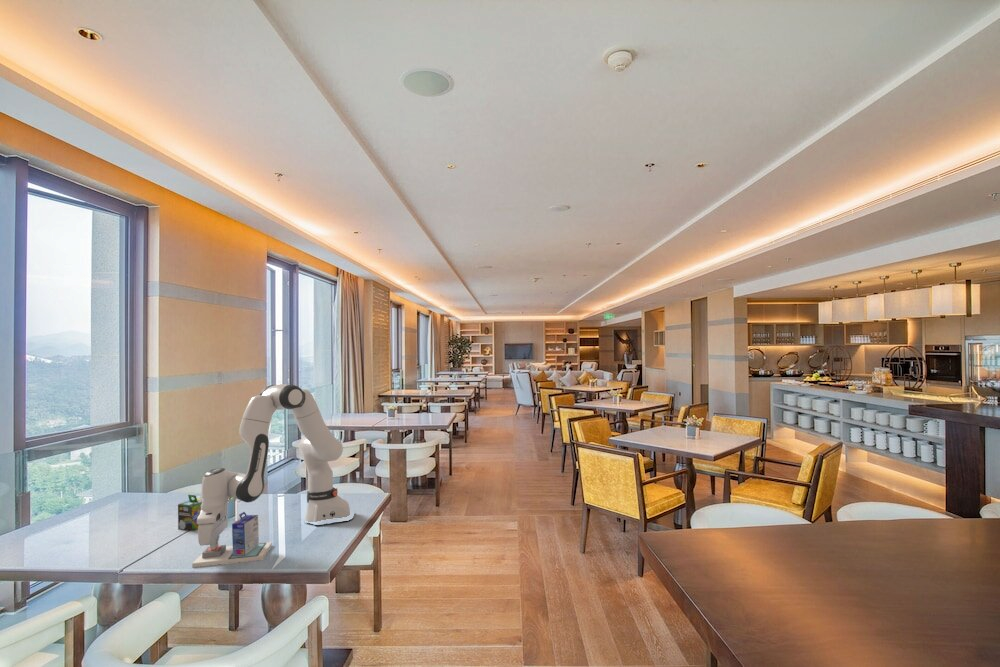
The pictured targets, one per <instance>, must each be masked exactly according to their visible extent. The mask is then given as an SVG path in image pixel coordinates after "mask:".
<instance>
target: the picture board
mask: <svg viewBox="0 0 1000 667" xmlns="http://www.w3.org/2000/svg"><path fill="white" fill-rule="evenodd" d="M271 545H272V546H273V542H272V541H268V542H267V541H266V542H260V543H259V545H258V546H257V547H255V548H254V549H253V550H251V551H250V552H249V553H247V554H246V555H233V545H227V544H223V545H220V544H218V546H222V548H221V549H220V550H219V551H209V552H207V550H208V549H209V548H210V545H208V546H207V547H206V548H205V550H203V551H202V553H201V554H199V556H198V557H196V559H195V560H194V561H193V562H192V564H191V565H192V568H199V567H200V566H201V567H210V565H211V566H218V564H221V565H227V564H226V563H230V564H237V563H238V562H240V563H246V562H248V561H249V562H257V561H256V560H259V561H263V560H264V559H265V557H266V556H265V555H267V554H268V553H269V551H270V549H271V548H272V546H271ZM270 547H271V548H270ZM269 548H270V549H269ZM268 550H269V551H268ZM267 552H268V553H267ZM266 553H267V554H266ZM263 558H264V559H263Z"/></svg>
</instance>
